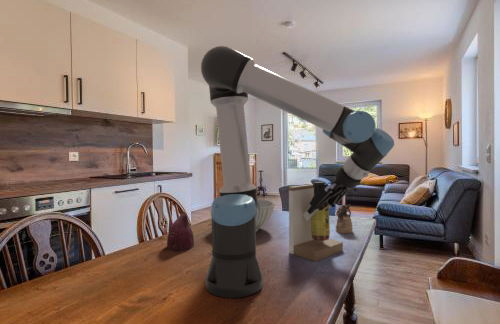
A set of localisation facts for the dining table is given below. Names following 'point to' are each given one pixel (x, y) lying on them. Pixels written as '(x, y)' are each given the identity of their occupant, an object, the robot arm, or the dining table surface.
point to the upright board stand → (306, 227)
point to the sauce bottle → (320, 217)
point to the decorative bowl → (264, 212)
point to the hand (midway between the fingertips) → (311, 216)
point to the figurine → (344, 220)
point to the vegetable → (180, 235)
